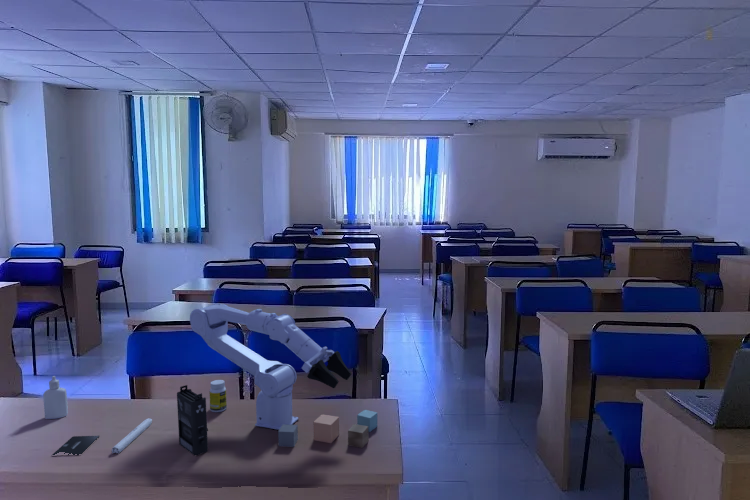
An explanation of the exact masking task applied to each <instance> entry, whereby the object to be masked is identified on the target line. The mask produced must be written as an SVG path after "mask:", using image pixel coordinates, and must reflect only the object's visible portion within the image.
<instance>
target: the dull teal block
mask: <svg viewBox="0 0 750 500" xmlns="http://www.w3.org/2000/svg"><path fill="white" fill-rule="evenodd" d="M356 417H357V419H356V422H357V425H363V426H368V433H371V432H372V431H373V430H375V429H376V428H377V427H378V411H377V412H376V411H372V410H368V409H364V410H362V411H361V412H359V413H358V414H357V415H356Z"/></svg>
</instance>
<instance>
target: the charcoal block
mask: <svg viewBox="0 0 750 500" xmlns="http://www.w3.org/2000/svg"><path fill="white" fill-rule="evenodd" d="M298 429H299V427H298V424H292V425H285V424H282V426H281V428H280V429H279V430H278V431H277V433H278V442H277V443H278V447H286V448H287V447H289V448H290V447H291V448H295V446H296V445H297V442H298V441H299V431H298Z"/></svg>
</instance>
